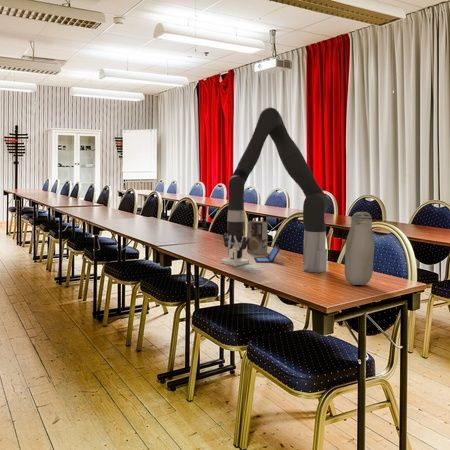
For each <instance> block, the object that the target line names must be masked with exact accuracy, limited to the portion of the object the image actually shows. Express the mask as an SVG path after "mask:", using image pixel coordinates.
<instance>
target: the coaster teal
mask: <svg viewBox="0 0 450 450" xmlns="http://www.w3.org/2000/svg"><path fill="white" fill-rule="evenodd" d="M247 266H248V265H240V266H238V267H237V266H235V269H238V270H244V271H247V270H251V269H254V268H252V267H247Z"/></svg>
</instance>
